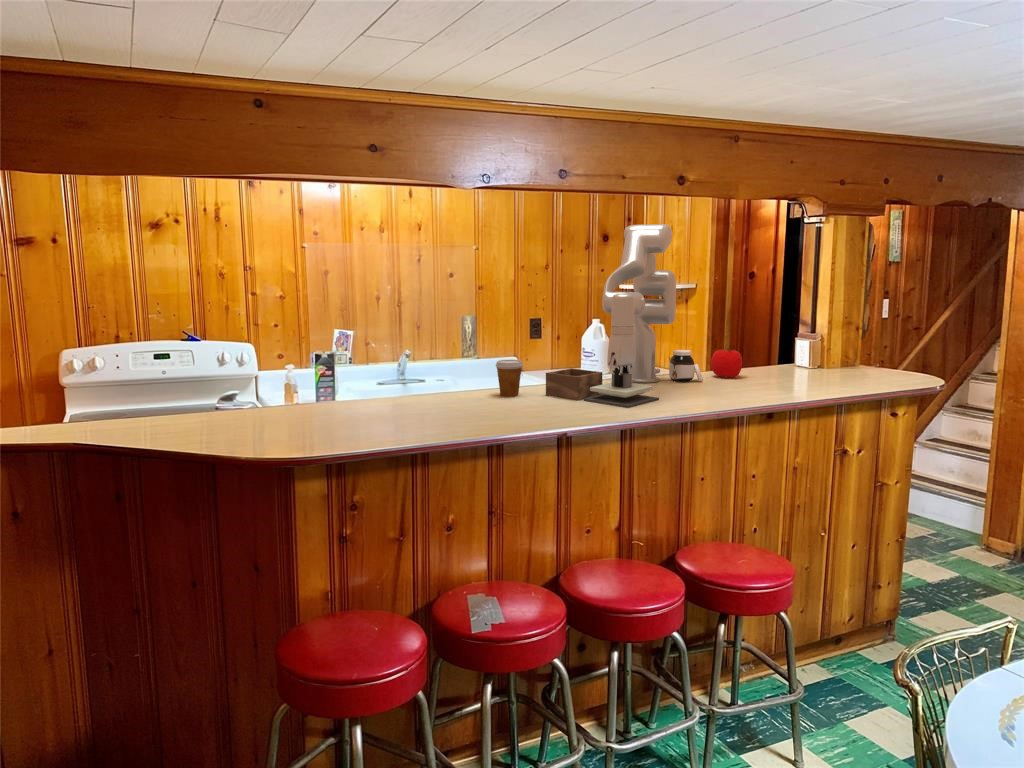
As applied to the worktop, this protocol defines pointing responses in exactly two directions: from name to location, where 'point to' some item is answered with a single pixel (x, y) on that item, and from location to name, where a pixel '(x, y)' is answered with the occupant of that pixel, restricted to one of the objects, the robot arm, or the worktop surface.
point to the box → (572, 383)
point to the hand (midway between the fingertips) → (621, 385)
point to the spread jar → (683, 367)
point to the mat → (621, 400)
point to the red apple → (726, 363)
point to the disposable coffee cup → (509, 377)
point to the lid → (623, 391)
